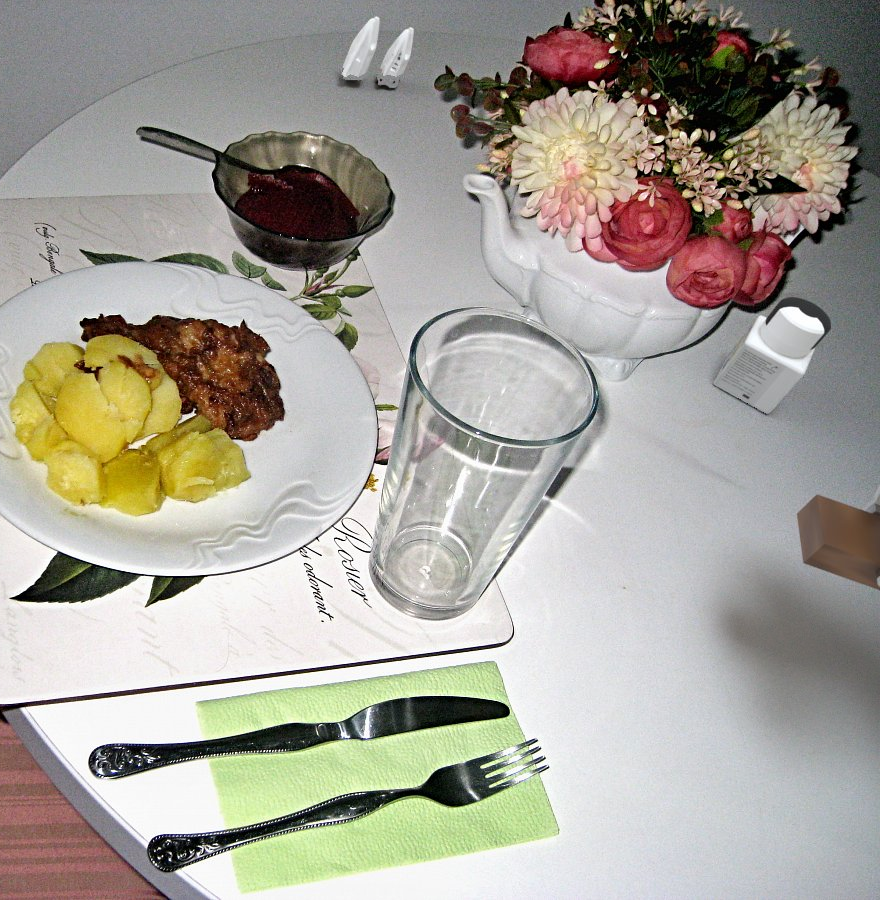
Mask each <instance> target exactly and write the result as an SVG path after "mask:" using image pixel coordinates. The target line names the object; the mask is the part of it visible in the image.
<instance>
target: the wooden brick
mask: <svg viewBox="0 0 880 900" xmlns="http://www.w3.org/2000/svg"><path fill="white" fill-rule="evenodd" d="M796 518H797V525H798V526H797V527H798V533H799V540H800V541H799V542H800V548H801V549H800V550H801V556H802V557H801V558H802V563H803V564H804V565H807V566H810V567H812V568H816V569H817V570H818V569H819V570H822V571H824V572H827V573H830V574H833V575H835V576H838V577H841V578H843V579H846V580H850V581H851V582H856V583H858V584H861V585H864V586H866V587H870V588H872V589H875V590H878V591H880V587H879V586H878V583H877V578H876V570H877V569H878V568H880V516H877V515H875V514H872V513H869V512H867V511H864V510H863V509H861V508H858V507H855V506H852V505H849V504H847V503H843V502H840V501H838V500H835V499H832V498H829V497H826V496H823V495H820V494H818V493H816V494H815V495H814V496H813V497H812V498H811V499H810V500H809V501H808V502H807V503H806V504H805V505H804V506H803V507H802V508H801V509H800V510H799V511H798V512H797V513H796Z"/></svg>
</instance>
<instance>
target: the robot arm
mask: <svg viewBox="0 0 880 900" xmlns="http://www.w3.org/2000/svg"><path fill="white" fill-rule="evenodd" d="M862 510H864V511H867V512H869V513H872V514H875V515H877V516H880V484H879V485H878V487H877V489H876V491H875V493H874V496H873V497H872V499H871V501H869V502H868V503H867V504H866V505H865V506H864V507H863V508H862ZM876 578H877V583H878V586H879V587H880V568H878V569H877V570H876Z"/></svg>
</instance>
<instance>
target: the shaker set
mask: <svg viewBox="0 0 880 900" xmlns="http://www.w3.org/2000/svg"><path fill="white" fill-rule="evenodd" d="M379 31H380V17H379V16H374V17H372V18H370V19H369V20H368V21H367V22H366V23H365V24H364V26H363V27H362V28H361V29H360V31H359V32H358V33H357V35H356V36H355V37H354V39H353V41H352V42H351V44H350V47H349V50H348V52H347V54H346V57H345V58H344V59H345V60H344V62H343V65H342V67H343V68H344V70H343V72H342V71H341V74H340V76H341V75H343V76H344V77H347V76H348V75H350V74H351V75H354V76H357V77H359V76H361V75H363V74H365V73H366V74H367V72H368V70H369V67H370V65H371V62H372V60H373V57H374V54H375V52H376V49H377V47H378V39H379ZM414 34H415V29H414V27H411V26H410V27H408V28H406V29H404V30H403V31H402V32H401V33H400V34H399V35H398V37H397V38H396V39H395V40H394V41H393V43H392V44H391V45H390V46H389V48H388V49H387V51H386V53H385V55H384V57H383V60H382V61H381V64H380V66H379V69H380V68H381V69H382V73H383V76H386V75H391V76H395V77H397V76H399V75H401V74H403V75H404V73H405V71H406V68H407V66H408V64H409V61H410V59H411V54H412V47H413V43H414ZM397 65H398V66H397ZM392 67H393V68H396V69H393V68H392ZM382 73H381V74H382Z"/></svg>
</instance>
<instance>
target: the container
mask: <svg viewBox="0 0 880 900" xmlns="http://www.w3.org/2000/svg"><path fill="white" fill-rule="evenodd" d="M831 329H832V321H831V319H830V317H829V315H828V314H827V313H826V311H824V310H823V309H822V308H821V307H820V306H819V305H817V304H815V303H814V302H812V301H810V300H807V299H805V298H801V297H796V296H788V297H784V298H782V299H780V301H779V302H778V303H777V304H776V305H775V306H774V308H773V309H772V310H771V312H770V313H769V315H768V316H767V317H766V316H764V315H759V316H757V317H756V319H755V320H754V322H753V323H752V324H751V325H750V326H749V328H748V329H747V330H746V332H745V333H744V334H743V335H742V337H741V338H740V339H739V340H738V342H737V343H736V344H735V346H734V347H733V348H732V350H730V351H729V353H728V355H727V356H726V358H725V360H724V362H723V363H722V365H721V367H720V369H719V371H718V373H717V375H716V377H715V379H714V380H713V385H714V386H715V387H717V388H718V389H721V390H722V391H724V392H726V393H728V394H729V395H732V396H733V397H735V398H737V399H738V398H739V400H740V399H741V400H740V401H742V402H744V403H745V404H747V403H748V404H747V405H749V406H751V407H753V408H754V407H755V409H756V408H757V409H756V410H758V411H760V412H761V413H763V412H764V413H763V414H765V413H766V414H765V415H769V414H770V413H772V412H773V410H774V409H775V408H777V406H778V405H779V404H780V403H781V401H783V400H784V398H785V397H786V396H787V395H788V394H789V392H790V391H791V390H792V389H794V387H795V386H796V384H797V383H798V382H800V380H801V379H802V378H803V377H804V375H805V374H806V372H807V370H808V367H809V364H810V362H811V359H812V357H813V355H814V353H815V349H816V347H817V346H818V345H819V344H820V343H821V341H823V340H824V338H825V337H826V336H827V335H828V333H829V332H830V331H831Z"/></svg>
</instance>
